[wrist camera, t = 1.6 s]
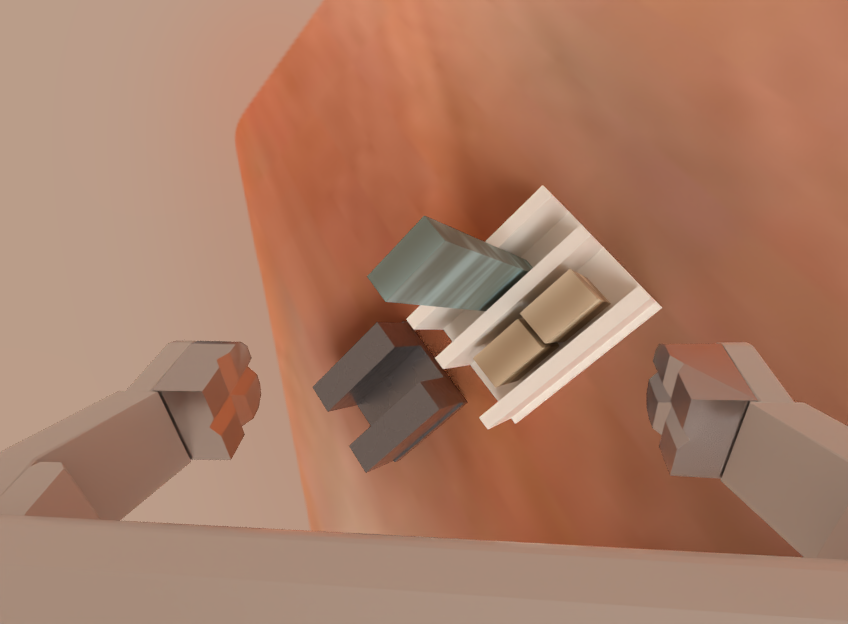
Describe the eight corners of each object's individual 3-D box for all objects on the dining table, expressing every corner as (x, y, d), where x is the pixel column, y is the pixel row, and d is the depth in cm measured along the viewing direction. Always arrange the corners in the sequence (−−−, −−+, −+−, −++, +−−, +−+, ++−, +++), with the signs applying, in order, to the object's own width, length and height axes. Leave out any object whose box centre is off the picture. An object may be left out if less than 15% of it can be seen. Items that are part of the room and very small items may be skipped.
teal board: (540, 275, 45) (445, 240, 28) (500, 312, 47) (385, 301, 29) (526, 259, 46) (424, 215, 28) (486, 296, 48) (366, 276, 30)
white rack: (662, 307, 41) (657, 303, 35) (518, 422, 47) (492, 435, 41) (558, 200, 46) (537, 179, 40) (437, 315, 51) (402, 314, 45)
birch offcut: (559, 346, 44) (542, 348, 39) (517, 380, 46) (495, 387, 41) (537, 319, 45) (517, 318, 40) (497, 355, 47) (472, 358, 42)
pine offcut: (611, 303, 42) (597, 298, 36) (565, 341, 44) (544, 343, 38) (586, 277, 43) (569, 268, 37) (542, 315, 45) (519, 313, 39)
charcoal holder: (467, 402, 49) (440, 411, 44) (399, 460, 52) (367, 474, 47) (407, 321, 53) (376, 320, 47) (347, 380, 56) (311, 385, 51)
